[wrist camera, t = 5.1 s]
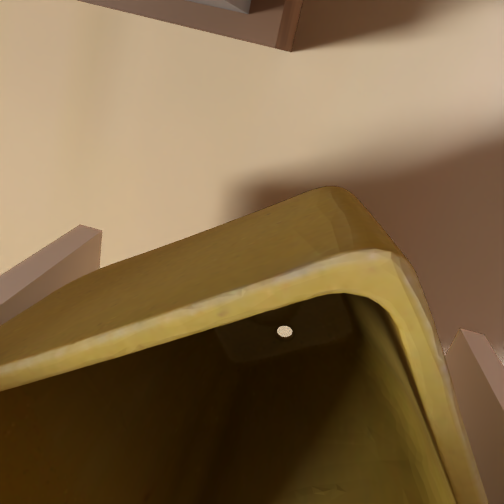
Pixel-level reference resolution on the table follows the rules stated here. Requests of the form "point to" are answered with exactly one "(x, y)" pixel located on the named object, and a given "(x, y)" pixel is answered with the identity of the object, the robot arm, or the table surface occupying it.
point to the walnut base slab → (223, 18)
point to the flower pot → (238, 374)
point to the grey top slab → (228, 4)
